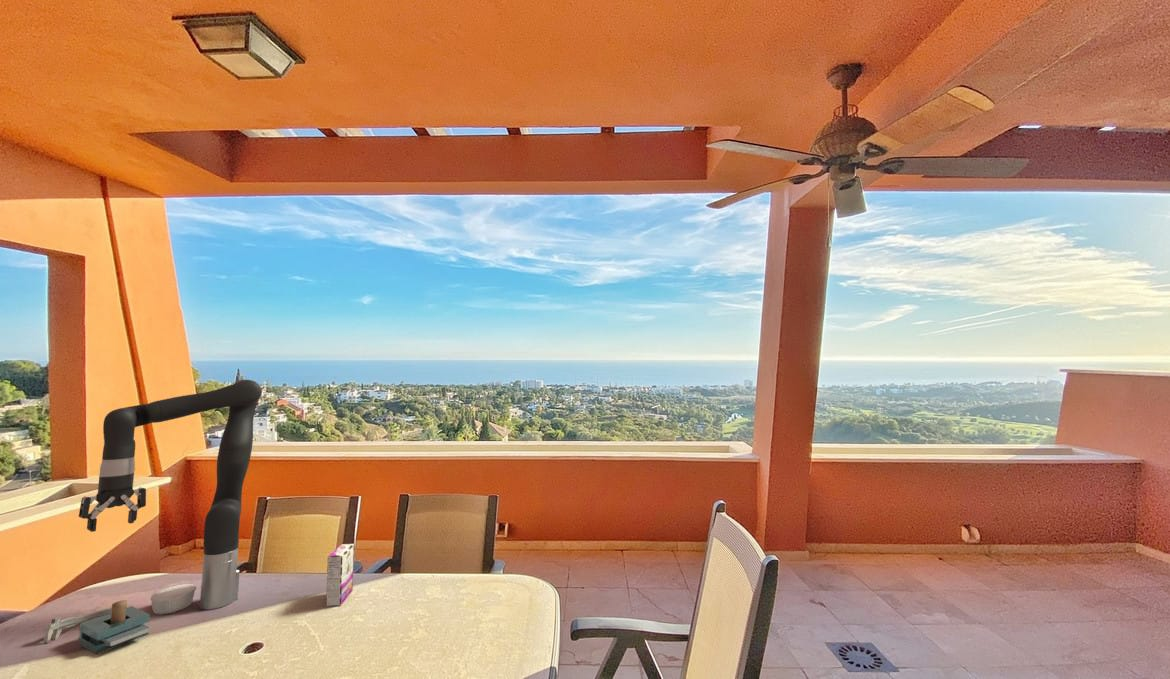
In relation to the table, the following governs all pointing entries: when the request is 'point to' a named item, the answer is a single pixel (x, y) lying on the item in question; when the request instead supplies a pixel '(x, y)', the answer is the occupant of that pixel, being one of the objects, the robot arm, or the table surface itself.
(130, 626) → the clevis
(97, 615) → the caliper
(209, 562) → the robot arm
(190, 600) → the ramekin
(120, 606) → the pin
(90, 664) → the table surface
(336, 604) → the candy bar box
